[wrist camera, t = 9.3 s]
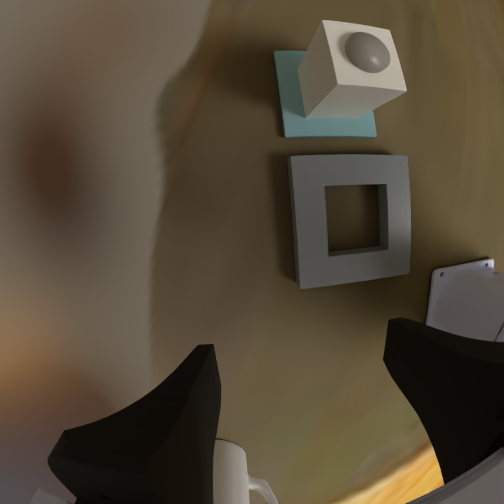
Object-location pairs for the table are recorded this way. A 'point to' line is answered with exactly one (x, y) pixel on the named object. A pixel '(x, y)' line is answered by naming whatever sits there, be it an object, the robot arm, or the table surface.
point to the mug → (235, 476)
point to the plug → (349, 71)
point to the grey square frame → (315, 220)
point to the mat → (294, 107)
